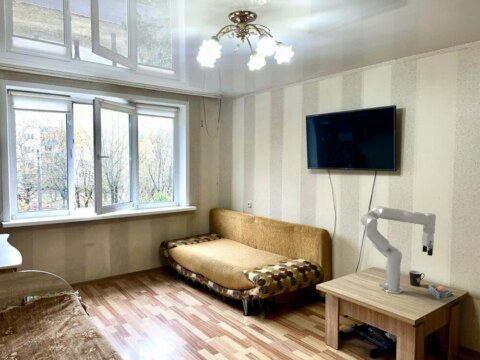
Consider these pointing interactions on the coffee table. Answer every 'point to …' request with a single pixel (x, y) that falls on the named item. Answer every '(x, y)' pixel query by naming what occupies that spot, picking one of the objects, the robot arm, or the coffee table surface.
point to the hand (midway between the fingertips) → (427, 253)
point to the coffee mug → (415, 277)
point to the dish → (445, 294)
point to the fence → (434, 292)
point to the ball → (441, 289)
